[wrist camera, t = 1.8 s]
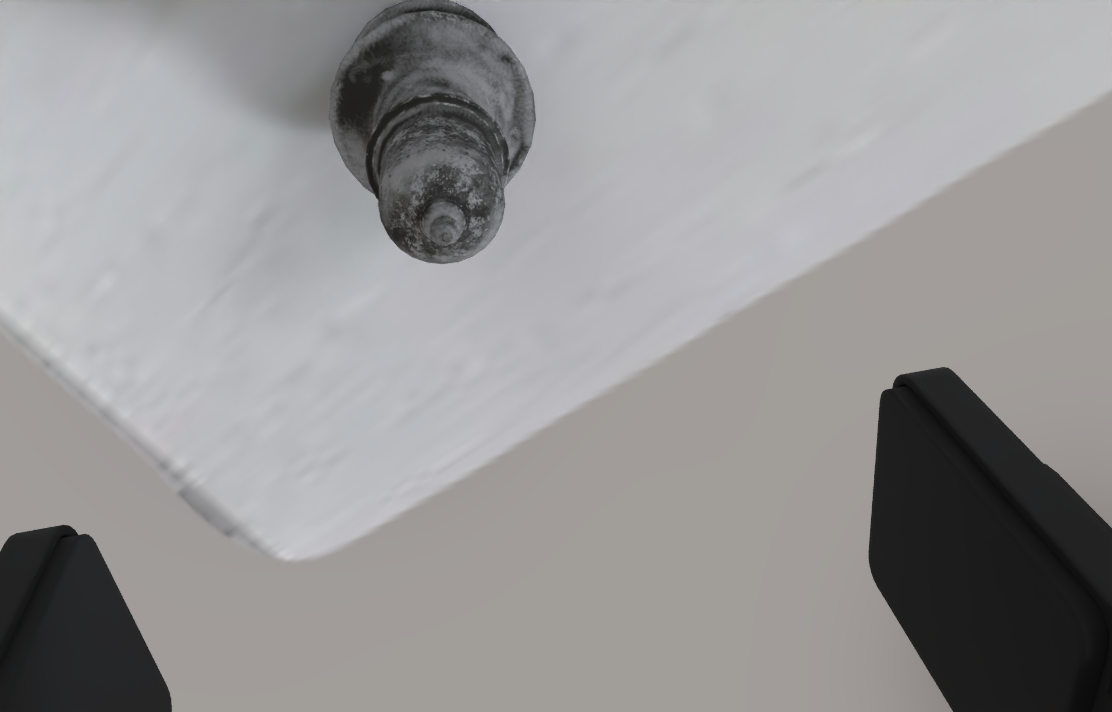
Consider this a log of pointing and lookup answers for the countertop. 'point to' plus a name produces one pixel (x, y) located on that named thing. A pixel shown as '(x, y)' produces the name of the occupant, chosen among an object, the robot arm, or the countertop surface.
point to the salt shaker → (433, 125)
